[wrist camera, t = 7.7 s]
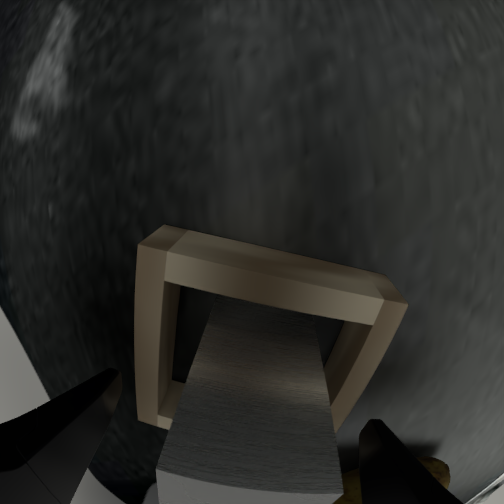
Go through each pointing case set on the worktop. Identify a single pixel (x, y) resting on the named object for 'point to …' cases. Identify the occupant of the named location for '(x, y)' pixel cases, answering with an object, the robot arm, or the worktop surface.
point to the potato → (352, 490)
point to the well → (260, 291)
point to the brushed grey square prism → (252, 414)
